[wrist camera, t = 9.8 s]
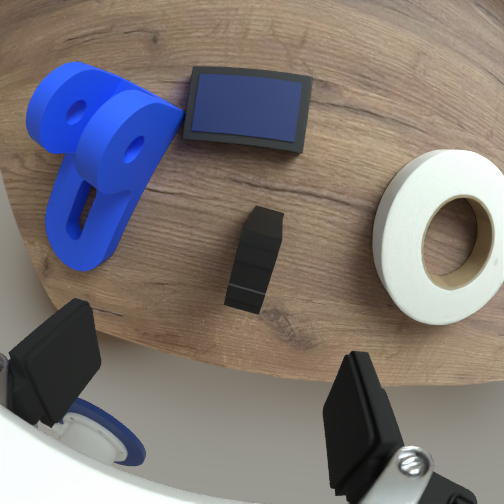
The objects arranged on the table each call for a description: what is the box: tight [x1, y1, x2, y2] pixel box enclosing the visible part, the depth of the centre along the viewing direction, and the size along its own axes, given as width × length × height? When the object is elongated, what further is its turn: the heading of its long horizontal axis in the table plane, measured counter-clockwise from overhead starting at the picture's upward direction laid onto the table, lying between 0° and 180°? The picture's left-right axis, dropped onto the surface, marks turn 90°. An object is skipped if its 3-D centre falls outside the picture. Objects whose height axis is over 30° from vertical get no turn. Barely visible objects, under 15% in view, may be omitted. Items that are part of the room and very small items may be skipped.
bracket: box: [26, 62, 186, 271], centre depth 19 cm, size 18×8×9 cm, turn 145°
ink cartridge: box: [224, 206, 284, 315], centre depth 20 cm, size 5×2×8 cm, turn 165°
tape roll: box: [372, 150, 504, 325], centre depth 20 cm, size 16×15×3 cm
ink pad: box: [182, 66, 313, 153], centre depth 20 cm, size 9×6×2 cm, turn 82°
